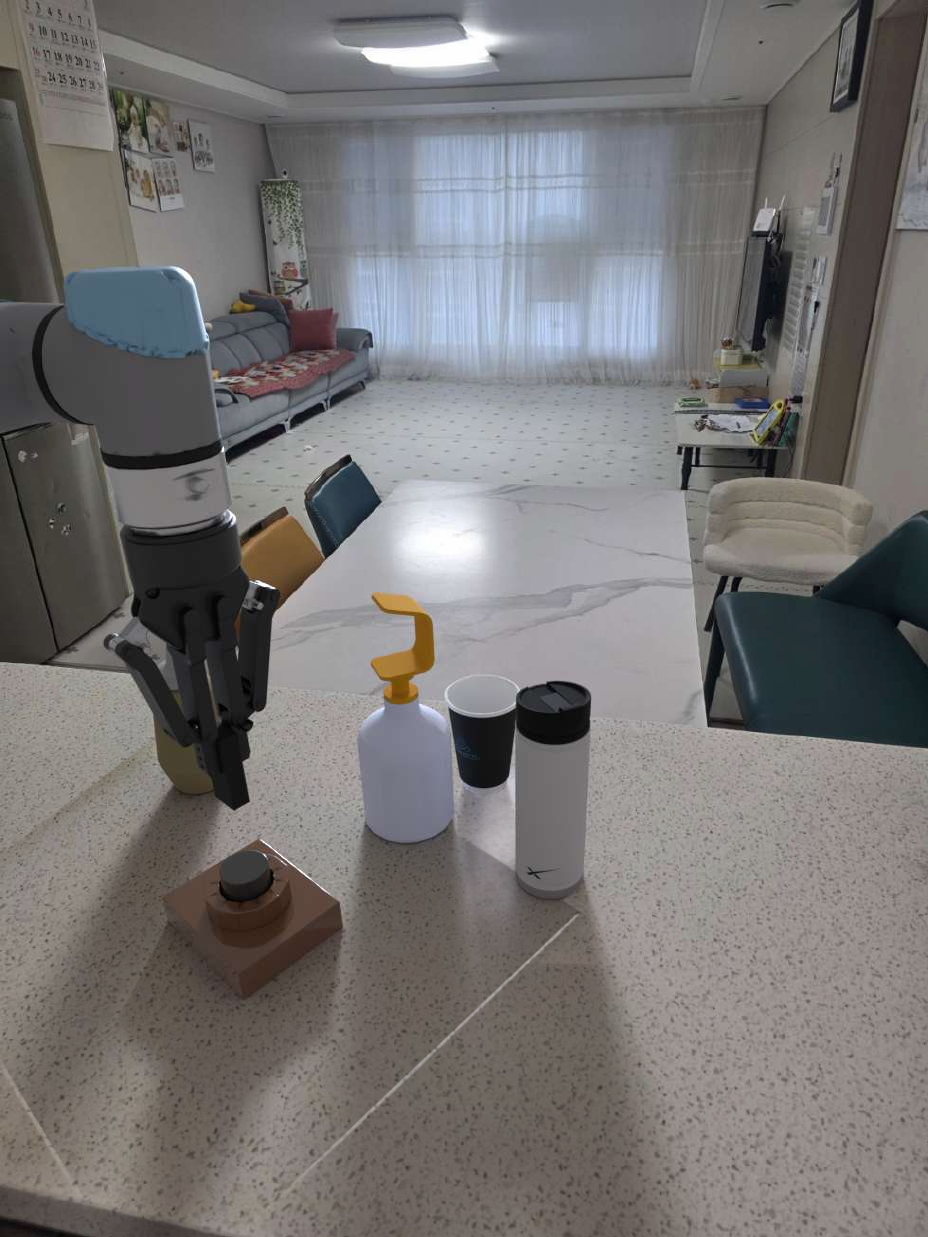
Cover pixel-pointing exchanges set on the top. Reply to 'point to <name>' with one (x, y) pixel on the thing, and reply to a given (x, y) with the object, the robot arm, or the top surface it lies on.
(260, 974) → the button base
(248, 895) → the grey button cap
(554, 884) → the travel mug
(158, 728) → the squeeze bottle
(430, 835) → the soap bottle
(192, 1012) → the top surface
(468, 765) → the dixie cup
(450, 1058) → the top surface
